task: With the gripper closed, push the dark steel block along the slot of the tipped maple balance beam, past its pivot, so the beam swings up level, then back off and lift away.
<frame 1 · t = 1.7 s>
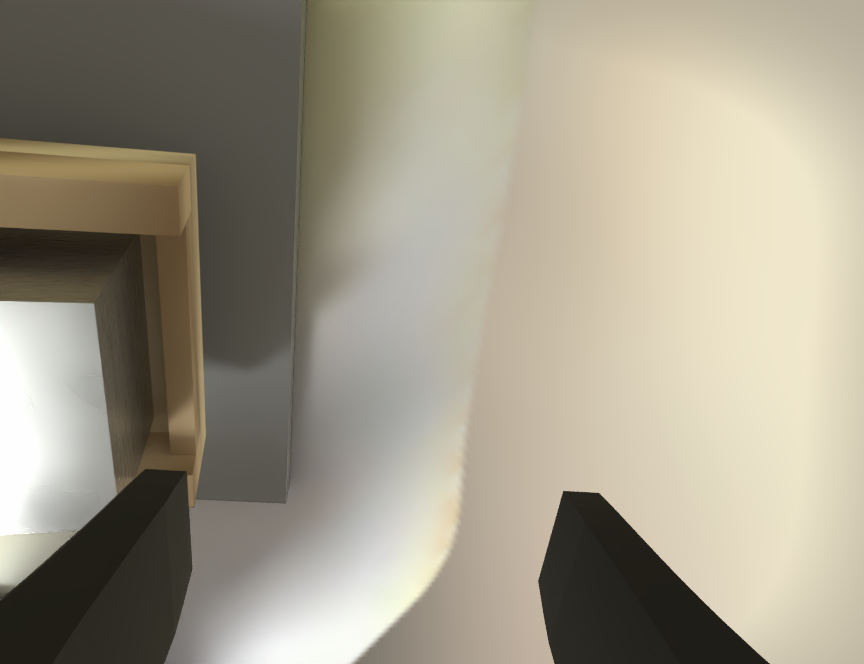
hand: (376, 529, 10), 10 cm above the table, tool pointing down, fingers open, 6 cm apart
steel block: (29, 327, 14), point 4 cm above the table, tilted 8°, touching balance beam
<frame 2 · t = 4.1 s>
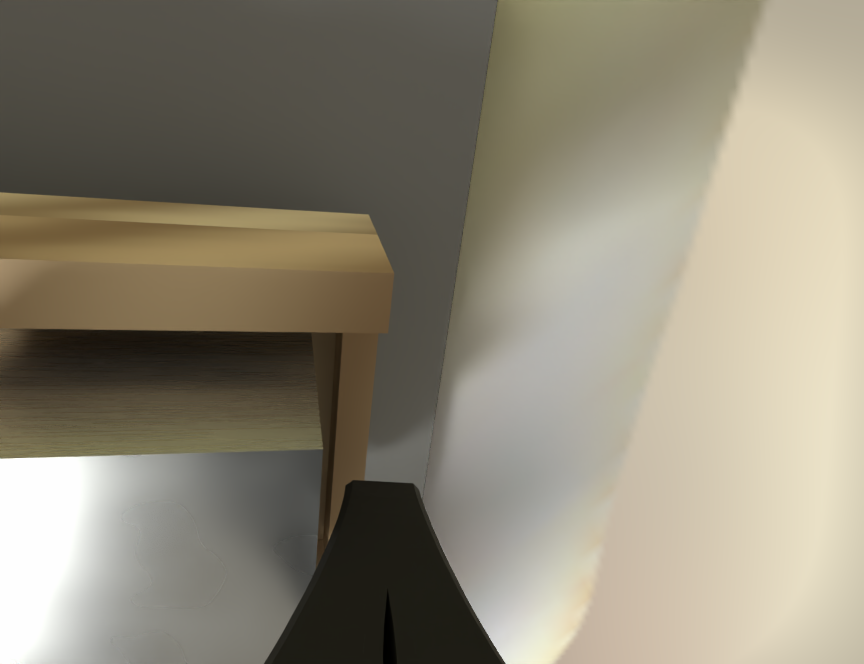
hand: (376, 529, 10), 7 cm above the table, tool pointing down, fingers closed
steel block: (167, 430, 12), point 4 cm above the table, tilted 8°, touching balance beam, gripper
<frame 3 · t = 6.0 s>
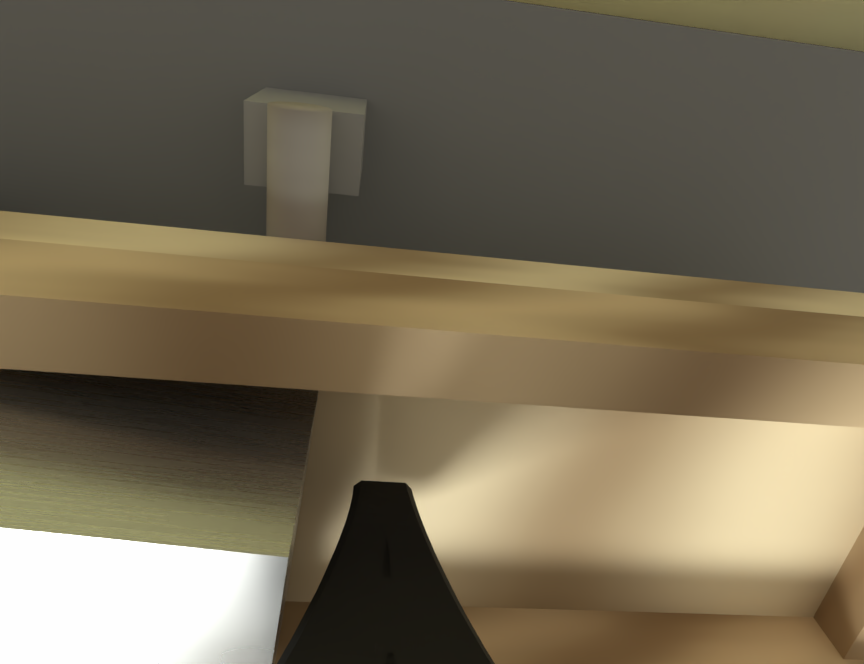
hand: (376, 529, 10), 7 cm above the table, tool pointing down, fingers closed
balance beam: (287, 438, 12), point 5 cm above the table, hinge at 0.3°
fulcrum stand: (310, 333, 16), on the table
steel block: (155, 469, 11), point 6 cm above the table, touching gripper
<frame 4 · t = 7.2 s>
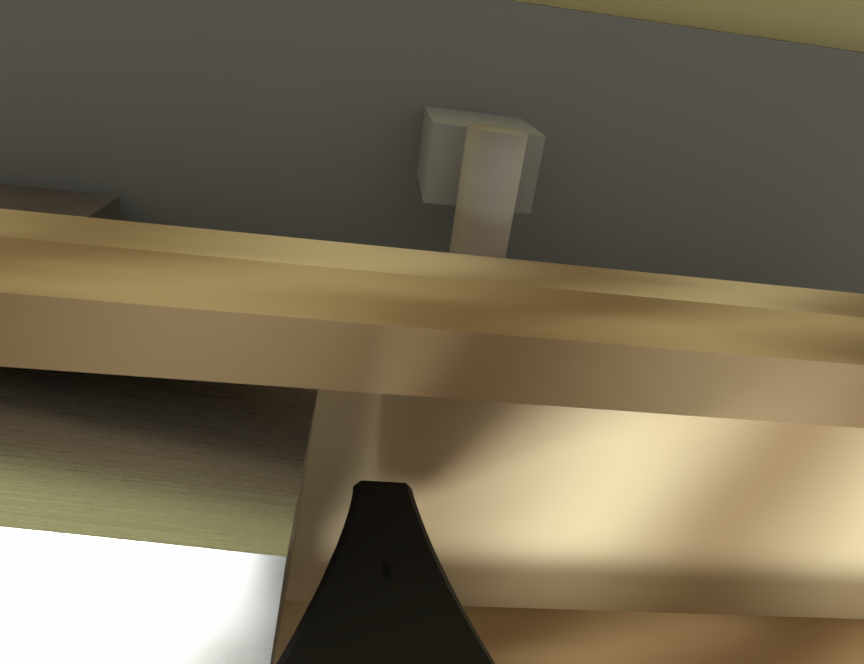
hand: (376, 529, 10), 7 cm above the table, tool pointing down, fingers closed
balance beam: (449, 447, 12), point 5 cm above the table, hinge at 0.3°, touching steel block
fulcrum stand: (432, 342, 16), on the table
steel block: (155, 468, 11), point 6 cm above the table, touching balance beam, gripper
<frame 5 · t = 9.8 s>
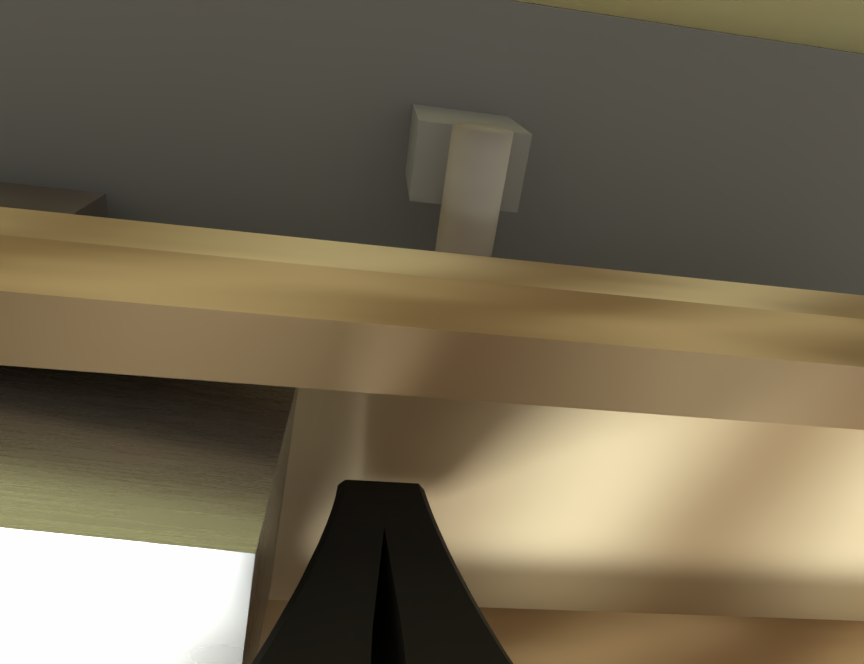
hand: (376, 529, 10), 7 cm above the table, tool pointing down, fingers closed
balance beam: (436, 447, 12), point 5 cm above the table, hinge at 0.3°, touching steel block
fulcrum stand: (422, 341, 16), on the table
steel block: (135, 466, 11), point 6 cm above the table, touching balance beam, gripper
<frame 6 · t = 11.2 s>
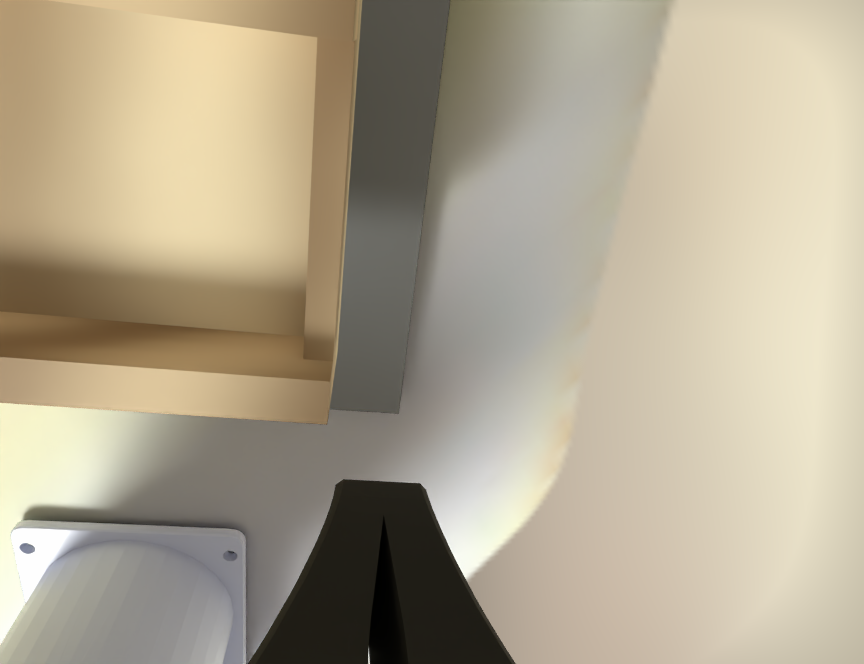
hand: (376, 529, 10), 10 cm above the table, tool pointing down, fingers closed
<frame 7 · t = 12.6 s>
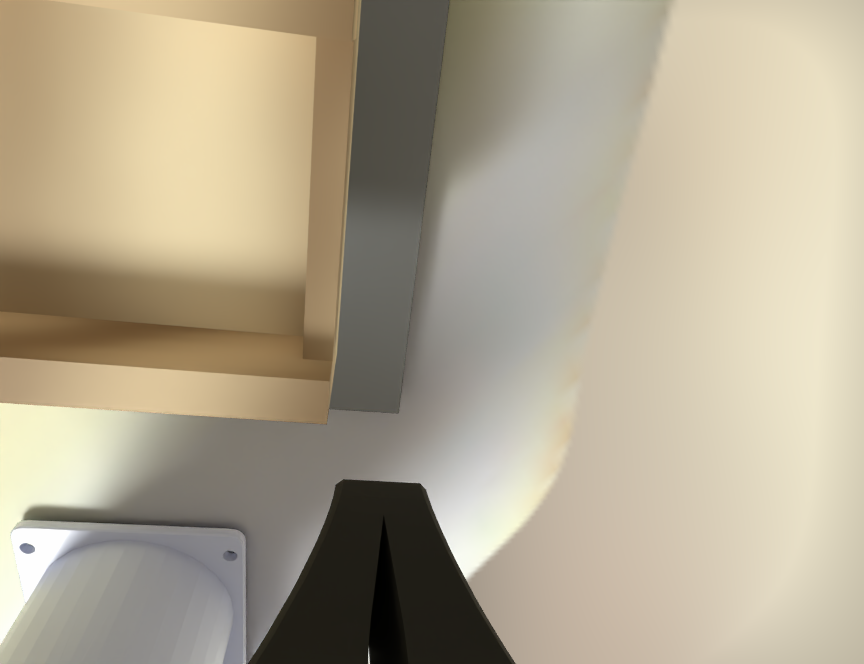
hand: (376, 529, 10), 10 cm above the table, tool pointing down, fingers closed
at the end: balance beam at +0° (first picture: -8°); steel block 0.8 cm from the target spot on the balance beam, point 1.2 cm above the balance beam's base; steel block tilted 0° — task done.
